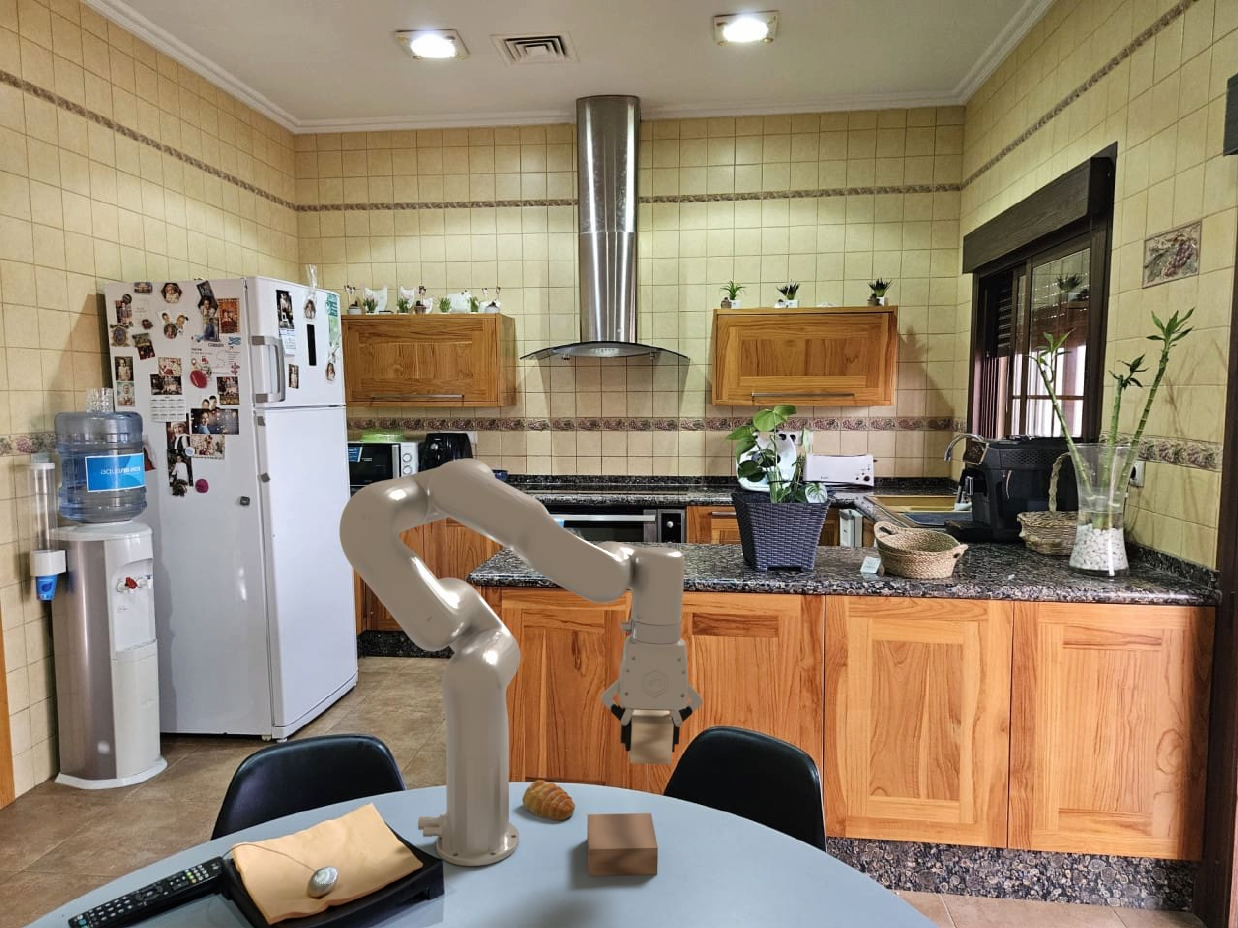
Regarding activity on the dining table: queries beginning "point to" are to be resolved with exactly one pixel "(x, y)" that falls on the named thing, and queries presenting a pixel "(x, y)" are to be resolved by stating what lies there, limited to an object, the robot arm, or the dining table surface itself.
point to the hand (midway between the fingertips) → (649, 746)
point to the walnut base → (621, 844)
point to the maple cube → (651, 737)
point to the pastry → (548, 800)
